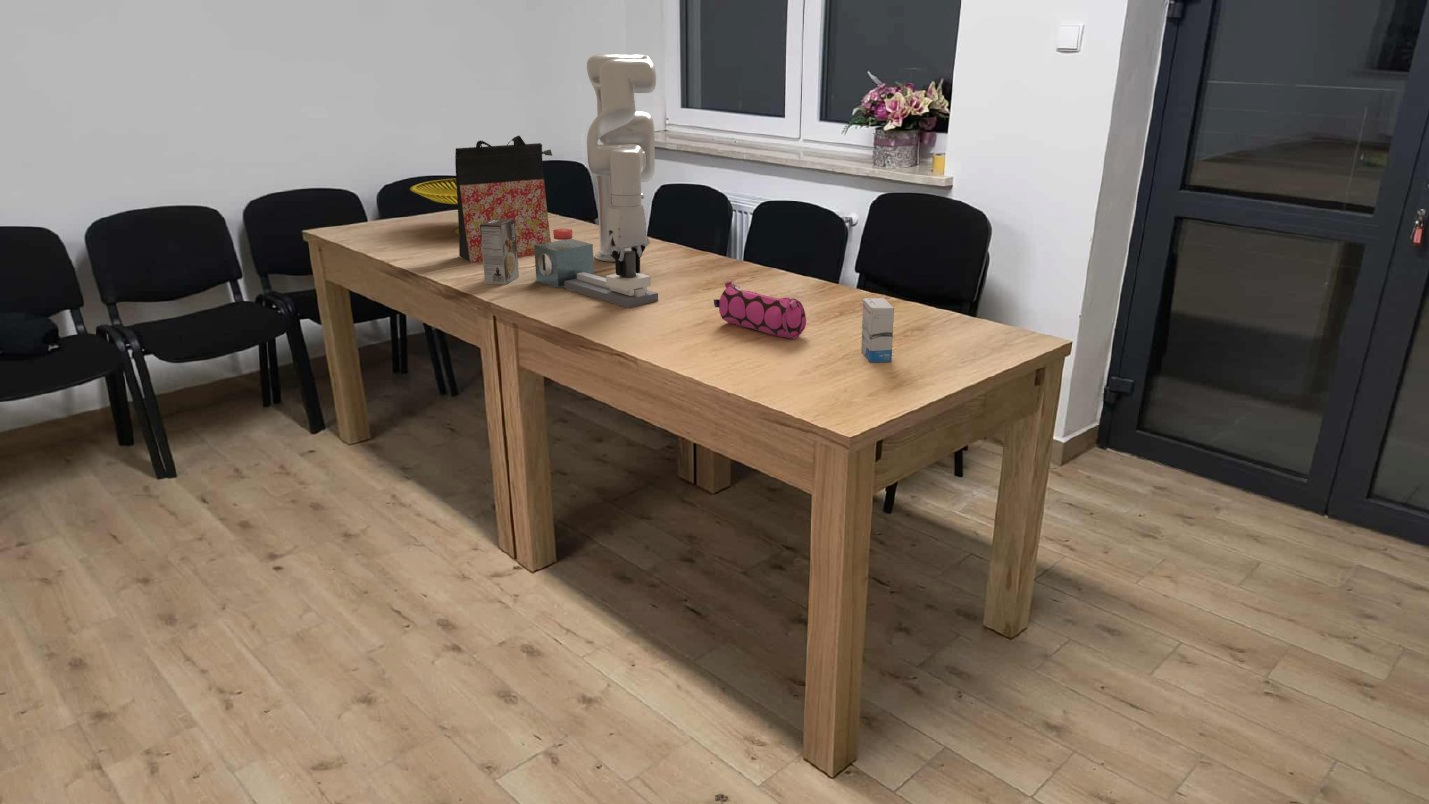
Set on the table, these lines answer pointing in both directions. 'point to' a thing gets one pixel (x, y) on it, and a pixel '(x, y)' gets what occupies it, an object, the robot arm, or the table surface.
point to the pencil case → (761, 312)
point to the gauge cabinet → (562, 261)
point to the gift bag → (501, 194)
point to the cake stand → (438, 192)
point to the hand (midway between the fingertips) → (628, 273)
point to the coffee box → (499, 251)
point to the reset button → (562, 234)
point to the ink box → (877, 330)
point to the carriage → (628, 277)
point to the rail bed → (608, 291)
